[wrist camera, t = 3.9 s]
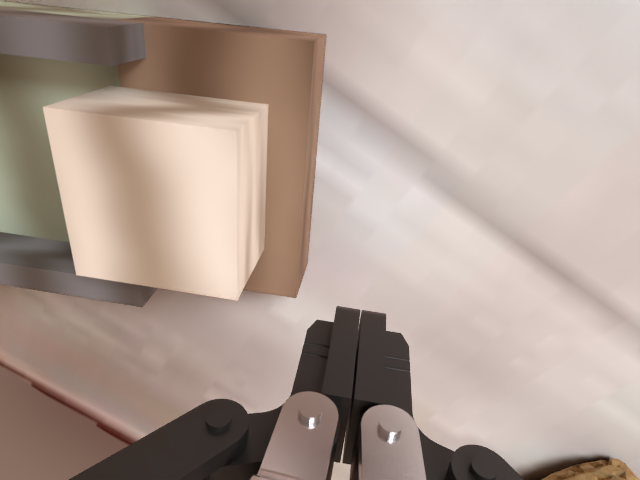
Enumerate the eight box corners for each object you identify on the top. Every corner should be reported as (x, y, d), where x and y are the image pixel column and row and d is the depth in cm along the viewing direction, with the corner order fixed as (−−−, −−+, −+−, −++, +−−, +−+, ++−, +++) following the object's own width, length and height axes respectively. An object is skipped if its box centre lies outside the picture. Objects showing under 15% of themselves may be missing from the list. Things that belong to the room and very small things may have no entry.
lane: (326, 34, 24) (302, 47, 18) (307, 263, 31) (285, 330, 25) (-233, -24, 27) (-418, -29, 21) (-139, 197, 34) (-259, 242, 27)
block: (268, 104, 22) (236, 131, 18) (264, 249, 26) (237, 300, 22) (110, 85, 23) (42, 107, 18) (128, 229, 27) (76, 275, 22)
